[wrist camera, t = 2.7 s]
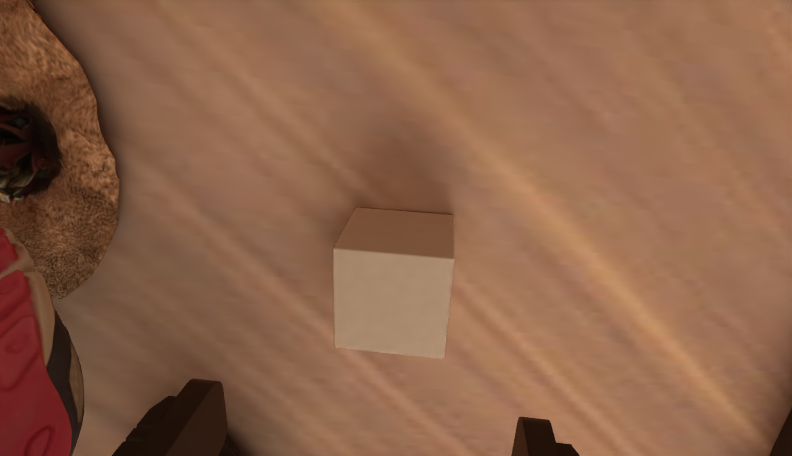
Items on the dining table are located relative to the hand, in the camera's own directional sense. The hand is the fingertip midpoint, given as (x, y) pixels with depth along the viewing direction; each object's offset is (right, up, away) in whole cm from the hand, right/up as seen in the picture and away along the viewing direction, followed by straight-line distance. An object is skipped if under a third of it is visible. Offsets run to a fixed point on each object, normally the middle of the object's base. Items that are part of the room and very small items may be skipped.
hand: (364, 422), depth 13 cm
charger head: (+1, +4, +9) cm, 10 cm away
